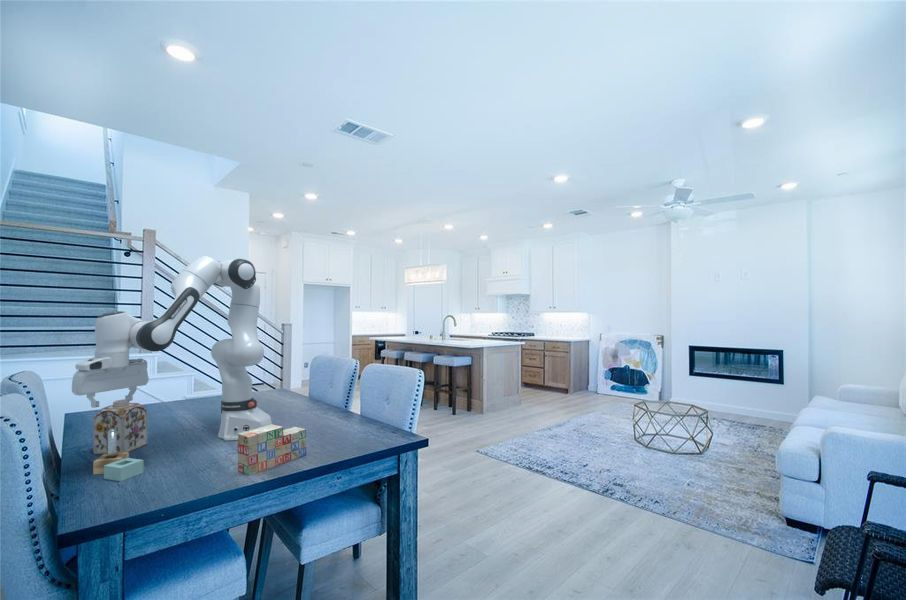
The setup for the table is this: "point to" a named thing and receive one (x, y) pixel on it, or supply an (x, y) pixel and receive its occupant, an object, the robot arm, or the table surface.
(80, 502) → the table surface
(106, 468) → the green block with hole
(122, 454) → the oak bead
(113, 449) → the steel needle peg
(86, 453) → the table surface
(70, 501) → the table surface
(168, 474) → the table surface
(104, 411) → the decorative jar
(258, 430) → the stack of blocks
